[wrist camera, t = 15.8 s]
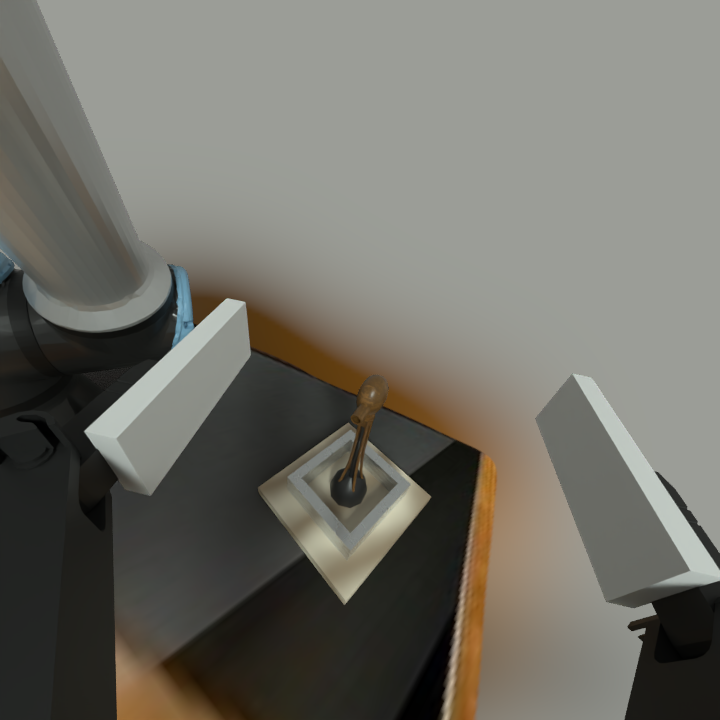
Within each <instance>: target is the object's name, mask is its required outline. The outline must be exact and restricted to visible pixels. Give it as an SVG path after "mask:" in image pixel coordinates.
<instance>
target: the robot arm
mask: <svg viewBox="0 0 720 720" xmlns="http://www.w3.org/2000/svg"><path fill="white" fill-rule="evenodd" d="M0 249H2V251H3V252H4V253H6V254H7V255H8V256H9V258H11V259H12V260H13V261H14V262H15V263H16V264H17V265H18V266H19V267H20V268H21V269H22V270H18V269H14V263H13V262H12V260H10V259H8V258H7V257H6V256H5V255H4V254H3V253H1V252H0V720H117V708H116V664H115V621H114V577H113V533H112V496H111V493H110V488H111V487H112V486H113V485H114V484H115V482H116V481H117V480H118V481H119V482H120V483H121V485H122V486H123V488H124V489H125V490H128V491H132V492H137V493H141V494H145V495H150V496H151V495H152V493H153V492H154V490H155V489H156V488H157V486H158V485H159V483H160V482H161V481H162V479H163V478H164V476H165V475H166V474H167V472H168V471H169V469H170V468H171V467H172V465H173V464H174V462H175V461H176V460H177V458H178V457H179V455H180V454H181V453H182V451H183V450H184V448H185V447H186V446H187V444H188V443H189V441H190V440H191V439H192V437H193V436H194V434H195V433H196V432H197V430H198V429H199V427H200V426H201V425H202V423H203V422H204V420H205V419H206V418H207V416H208V415H209V413H210V412H211V410H212V409H213V408H214V406H215V405H216V403H217V402H218V401H219V399H220V398H221V396H222V395H223V394H224V392H225V391H226V389H227V388H228V387H229V385H230V384H231V382H232V381H233V380H234V378H235V377H236V375H237V374H238V373H239V371H240V370H241V368H242V367H243V366H244V364H245V363H246V361H247V360H248V359H249V357H250V356H251V352H250V342H249V332H248V322H247V312H246V303H245V302H242V301H237V300H233V299H229V298H227V299H225V300H224V301H223V302H222V303H221V304H220V305H219V306H218V307H217V308H216V309H215V310H214V311H213V312H212V313H210V314H209V315H208V316H207V317H206V318H205V319H204V320H203V321H202V322H201V323H200V324H199V325H198V326H196V327H195V328H194V324H193V310H192V301H191V293H190V286H189V279H188V274H187V272H186V270H185V269H184V268H183V267H180V266H174V265H168V264H167V263H166V261H165V260H164V259H163V257H162V256H161V255H160V254H159V253H158V252H157V251H156V250H155V249H153V248H152V247H151V246H149V245H148V244H146V243H144V242H142V241H140V240H139V238H138V236H137V233H136V231H135V229H134V226H133V225H132V222H131V220H130V217H129V215H128V213H127V210H126V208H125V206H124V204H123V201H122V199H121V196H120V194H119V192H118V189H117V187H116V185H115V182H114V180H113V178H112V175H111V173H110V171H109V168H108V166H107V164H106V161H105V159H104V157H103V154H102V152H101V150H100V147H99V145H98V143H97V140H96V138H95V136H94V134H93V131H92V129H91V127H90V124H89V122H88V119H87V117H86V115H85V113H84V110H83V108H82V106H81V103H80V101H79V99H78V96H77V94H76V92H75V89H74V87H73V85H72V82H71V80H70V78H69V75H68V73H67V71H66V68H65V66H64V64H63V61H62V59H61V57H60V54H59V52H58V50H57V47H56V45H55V43H54V40H53V38H52V36H51V34H50V31H49V29H48V26H47V24H46V22H45V19H44V17H43V15H42V13H41V10H40V8H39V6H38V3H37V1H36V0H0ZM126 367H131V368H130V369H129V370H127V371H126V372H125V373H124V374H123V375H122V376H120V377H119V378H118V379H117V382H114V383H112V384H111V385H110V386H109V387H108V388H107V389H106V391H104V390H103V389H102V388H101V387H100V386H98V385H97V384H96V383H94V382H93V381H91V380H90V379H88V378H87V377H86V376H84V375H83V374H81V373H88V372H95V371H103V370H111V369H119V368H126ZM535 419H536V422H537V424H538V427H539V430H540V432H541V435H542V437H543V440H544V442H545V445H546V447H547V450H548V453H549V455H550V458H551V461H552V463H553V466H554V468H555V471H556V474H557V476H558V479H559V481H560V484H561V486H562V489H563V492H564V494H565V497H566V499H567V502H568V505H569V507H570V509H571V512H572V515H573V517H574V520H575V522H576V525H577V528H578V530H579V533H580V536H581V538H582V541H583V543H584V546H585V548H586V551H587V553H588V556H589V559H590V561H591V564H592V567H593V569H594V572H595V574H596V577H597V579H598V582H599V584H600V587H601V590H602V592H603V595H604V598H605V600H606V602H609V603H613V604H617V605H622V606H626V607H630V608H636V607H639V606H642V605H645V604H648V603H652V605H653V607H654V609H655V611H656V613H657V615H653V616H650V617H646V618H643V619H640V620H636V621H632V622H630V624H629V625H628V628H629V629H630V630H631V631H634V630H638V629H642V628H646V631H645V634H643V635H640V636H638V638H639V639H641V640H642V641H643V644H642V648H641V653H640V657H639V661H638V665H637V669H636V673H635V678H634V682H633V686H632V690H631V695H630V699H629V703H628V707H627V711H626V715H625V720H720V553H719V552H718V550H717V549H716V547H715V546H714V545H713V543H712V542H711V540H710V539H709V537H708V536H707V534H706V533H705V532H704V530H703V529H702V527H701V526H699V525H698V524H697V520H696V519H695V517H694V516H693V514H692V513H691V511H689V510H687V506H686V504H685V503H684V501H683V500H682V498H681V497H680V495H679V494H678V493H677V491H676V490H675V489H674V488H673V487H672V486H671V485H670V484H669V483H668V482H667V481H666V480H665V479H664V478H663V477H662V476H661V475H660V474H659V473H658V472H655V471H653V469H652V468H651V466H650V465H649V463H648V462H647V460H646V459H645V457H644V456H643V454H642V453H641V451H640V450H639V448H638V447H637V445H636V444H635V442H634V441H633V439H632V438H631V436H630V435H629V433H628V432H627V430H626V429H625V427H624V426H623V424H622V423H621V421H620V420H619V418H618V417H617V415H616V414H615V412H614V411H613V409H612V408H611V406H610V405H609V403H608V402H607V400H606V399H605V397H604V396H603V394H602V393H601V391H600V390H599V388H598V387H597V385H596V384H595V382H594V381H593V379H592V378H590V377H585V376H581V375H576V374H572V375H571V376H570V377H569V378H568V379H567V381H566V382H565V383H564V384H563V386H562V387H561V388H560V389H559V390H558V392H557V393H556V394H555V395H554V396H553V398H552V399H551V400H550V401H549V403H548V404H547V405H546V406H545V407H544V408H543V410H542V411H541V412H540V413H539V415H538V416H537V417H536V418H535Z"/></svg>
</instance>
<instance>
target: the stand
mask: <svg viewBox="0 0 720 720" xmlns="http://www.w3.org/2000/svg"><path fill="white" fill-rule="evenodd" d="M349 430H352V431H353V432H354V433H355V434H356V431H357V430H356V429H355V428H354V427H353V426H352V425H350V424H349V423H347V424H346V425H344V426H343V427H341V428H340V429H339V430H337V431H336V432H335V433H333V434H332V435H330V436H329V437H328V438H326V439H325V440H323V441H322V442H321V443H319V444H318V445H316V446H315V447H314V448H312V449H311V450H309V451H308V452H307V453H305V454H304V455H303V456H301V457H300V458H298V459H297V460H296V461H294V462H293V463H291V464H290V465H289V466H287V467H286V468H284V469H283V470H282V471H280V472H279V473H277V474H276V475H275V476H273V477H272V478H271V479H269V480H268V481H266V482H265V483H264V484H262V485H261V486H259V487H258V491H259V494H260V495H261V497H262V498H263V499H264V501H265V502H266V503H267V505H268V506H269V507H270V508H271V510H272V511H273V512H274V514H275V515H276V516H277V518H278V519H279V520H280V522H281V523H282V524H283V525H284V527H285V528H286V529H287V531H288V532H289V533H290V535H291V536H292V537H293V539H294V540H295V541H296V542H297V544H298V545H299V546H300V548H301V549H302V550H303V552H304V553H305V554H306V556H307V557H308V558H309V559H310V561H311V562H312V563H313V565H314V566H315V567H316V569H317V570H318V571H319V573H320V574H321V575H322V577H323V578H324V579H325V580H326V582H327V583H328V584H329V586H330V587H331V588H332V590H333V591H334V592H335V594H336V595H337V596H338V597H339V599H340V600H341V601H342V603H343V604H344V605H345V604H346V603H347V602H348V600H349V599H350V598H351V597H352V595H353V594H354V593H355V592H356V590H357V589H358V588H359V587H360V585H361V584H362V583H363V582H364V581H365V579H366V578H367V577H368V576H369V574H370V573H371V572H372V571H373V569H374V568H375V567H376V566H377V564H378V563H379V562H380V561H381V559H382V558H383V557H384V556H385V555H386V553H387V552H388V551H389V550H390V548H391V547H392V546H393V545H394V543H395V542H396V541H397V540H398V538H399V537H400V536H401V535H402V533H403V532H404V531H405V530H406V529H407V527H408V526H409V525H410V524H411V522H412V521H413V520H414V519H415V517H416V516H417V515H418V514H419V512H420V511H421V510H422V509H423V507H424V506H425V505H426V504H427V503H428V501H429V500H430V498H431V496H430V495H429V494H427V493H426V492H425V491H424V490H423V489H422V488H421V487H420V486H419V485H417V484H416V483H415V482H414V481H413V480H412V479H411V478H410V477H408V476H407V475H406V474H405V473H404V472H403V471H402V470H401V469H400V468H398V467H397V466H396V465H395V464H394V463H393V462H392V461H391V460H389V459H388V458H387V457H386V456H385V455H384V454H383V453H382V452H381V451H379V450H378V449H377V448H376V447H375V446H374V445H373V444H372V443H370V442H369V441H367V445H368V446H369V447H371V448H372V449H373V450H374V451H375V452H376V453H377V454H378V455H379V456H380V457H382V458H383V459H384V460H385V461H386V462H387V463H388V464H389V465H390V466H391V467H393V468H394V469H395V470H396V471H397V472H398V473H399V474H400V475H401V476H403V477H404V478H405V479H406V480H407V481H408V482H409V483H410V484H411V485H410V487H409V489H408V491H407V493H406V495H405V496H404V497H403V498H402V499H401V501H400V502H399V503H398V504H397V505H396V506H395V507H394V508H393V510H392V511H391V512H390V513H389V514H388V515H387V516H386V517H385V518H384V520H383V521H382V522H381V523H380V524H379V525H378V526H377V527H376V528H375V530H374V531H373V532H372V533H371V534H370V535H369V536H368V537H367V539H366V540H365V541H364V542H363V543H362V544H361V545H360V546H359V547H358V549H357V550H356V551H355V552H354V553H353V554H352V555H351V556H350V557H349V559H348V560H346V559H345V558H344V557H343V555H342V554H341V553H340V552H339V551H338V549H337V548H336V547H335V546H334V545H333V543H332V542H331V541H330V540H329V539H328V537H327V536H326V535H325V534H324V533H323V531H322V530H321V529H320V528H319V527H318V525H317V524H316V523H315V522H314V521H313V519H312V518H311V517H310V516H309V515H308V513H307V512H306V511H305V510H304V509H303V507H302V506H301V505H300V504H299V503H298V501H297V500H296V499H295V498H294V497H293V495H292V494H291V493H290V492H289V491H288V489H287V477H288V476H289V475H290V474H292V473H293V472H294V471H296V470H297V469H298V468H300V467H301V466H302V465H304V464H305V463H307V462H308V461H309V460H311V459H312V458H313V457H315V456H316V455H317V454H319V453H320V452H321V451H323V450H324V449H325V448H327V447H328V446H329V445H331V444H332V443H333V442H335V441H336V440H337V439H339V438H340V437H341V436H343V435H344V434H345V433H347V432H348V431H349ZM349 457H350V453H349V452H347V453H346V454H345V455H343V456H342V457H341V458H340V459H338V460H337V461H336V462H335V463H333V464H332V465H331V466H330V467H328V468H327V469H326V470H325V471H323V472H322V473H321V474H320V475H318V476H317V477H316V478H315V479H314V480H312V481H311V482H310V483H309V484H307V485H308V486H309V487H310V488H311V489H312V490H313V491H314V492H315V494H316V495H317V496H318V497H319V498H320V499H321V500H322V502H323V503H324V504H325V505H326V506H327V507H328V508H329V509H330V511H331V512H332V513H333V514H334V515H335V516H336V517H337V519H338V520H339V521H340V522H341V523H342V524H343V525H344V526H345V528H346V529H347V530H348V531H349V532H350V533H351V532H352V531H353V530H354V529H355V528H356V527H357V526H358V525H359V524H360V523H361V521H362V520H363V519H364V518H365V517H366V516H367V515H368V514H369V513H370V512H371V511H372V510H373V509H374V508H375V507H376V506H377V505H378V504H379V503H380V502H381V501H382V499H383V498H384V497H385V496H386V495H387V494H388V493H389V491H388V490H387V489H386V488H385V487H384V486H383V485H382V484H381V483H380V482H379V481H378V480H377V479H376V478H375V477H374V476H373V475H372V474H371V473H369V472H368V471H367V470H366V469H365V468H364V467H363V475H364V476H365V479H366V485H367V492H366V495H365V497H364V498H363V500H362V502H361V504H359V505H356V506H354V507H352V508H348V507H343V506H339V505H338V504H337V503H336V502H335V501H334V500H333V498H332V497H331V493H330V482H331V480H332V479H333V477H334V475H335V474H336V472H337V471H338V470H340V469H343V468H345V467H346V465H347V462H348V460H349ZM358 470H359V471H360V463H359V467H358Z"/></svg>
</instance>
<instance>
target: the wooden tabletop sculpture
mask: <svg viewBox="0 0 720 720" xmlns="http://www.w3.org/2000/svg"><path fill="white" fill-rule="evenodd" d="M388 389H389V387H388V383H387V380H386V379H385V378H384V377H383V376H380V375H372V376H370V377H368V378H367V379H366V380H365V381H364V383H363V384H362V386H361V387H360V389H359V392H358V395H357V407H358V408H357V409H356V410H355V412H354V413H353V414H352V416H351V421H352V422H353V423H354V424H357V425H358V427H357V431H356V436H355V440H354V443H353V447H352V451H351V454H350V457H349V460H348V462H347V465H346V467H345V468H343V469H340V470H338V471H337V472H336V474H335V475H334V477H333V479H332V480H331V482H330V493H331V497H332V498H333V500H334V501H335V502H336V503H337V504H338V505H339V506H343V507H348V508H352V507H354V506H356V505H359V504H361V502H362V500H363V498H364V497H365V495H366V492H367V485H366V479H365V476H364V475H363V460H364V454H365V449H366V445H367V441H368V438H369V434H370V430H371V427H372V423H373V420H374V418H375V413H376V412H378V411H379V410H380V409H381V407H382V406H383V403H384V402H385V400H386V398H387V394H388ZM360 458H361V460H360ZM359 463H360V471H359V470H358V467H359Z"/></svg>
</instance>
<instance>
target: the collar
mask: <svg viewBox="0 0 720 720" xmlns="http://www.w3.org/2000/svg"><path fill="white" fill-rule="evenodd" d="M355 436H356V434H355V433H354V432H353V431H352V430H349V431H348V432H347V433H345V434H344V435H343V436H341V437H340V438H339V439H337V440H336V441H335V442H333V443H332V444H331V445H329V446H328V447H327V448H325V449H324V450H323V451H321V452H320V453H319V454H317V455H316V456H315V457H313V458H312V459H311V460H309V461H308V462H307V463H305V464H304V465H302V466H301V467H300V468H298V469H297V470H296V471H294V472H293V473H292V474H290V475H289V476H288V477H287V489H288V491H289V492H290V493H291V494H292V495H293V497H294V498H295V499H296V500H297V501H298V503H299V504H300V505H301V506H302V507H303V509H304V510H305V511H306V512H307V513H308V515H309V516H310V517H311V518H312V519H313V521H314V522H315V523H316V524H317V525H318V527H319V528H320V529H321V530H322V531H323V533H324V534H325V535H326V536H327V537H328V539H329V540H330V541H331V542H332V543H333V545H334V546H335V547H336V548H337V549H338V551H339V552H340V553H341V554H342V555H343V557H344V558H345V559H346V560H348V559H349V557H350V556H351V555H352V554H353V553H354V552H355V551H356V550H357V549H358V547H359V546H360V545H361V544H362V543H363V542H364V541H365V540H366V539H367V537H368V536H369V535H370V534H371V533H372V532H373V531H374V530H375V528H376V527H377V526H378V525H379V524H380V523H381V522H382V521H383V520H384V518H385V517H386V516H387V515H388V514H389V513H390V512H391V511H392V510H393V508H394V507H395V506H396V505H397V504H398V503H399V502H400V501H401V499H402V498H403V497H404V496H405V495H406V493H407V491H408V489H409V487H410V485H411V484H410V483H409V482H408V481H407V480H406V479H405V478H404V477H403V476H401V475H400V474H399V473H398V472H397V471H396V470H395V469H394V468H393V467H391V466H390V465H389V464H388V463H387V462H386V461H385V460H384V459H383V458H382V457H380V456H379V455H378V454H377V453H376V452H375V451H374V450H373V449H372V448H371V447H369V446H368V445H366V449H365V454H364V460H363V467H364V468H365V469H366V470H367V471H368V472H369V473H371V474H372V475H373V476H374V477H375V478H376V479H377V480H378V481H379V482H380V483H381V484H382V485H383V486H384V487H385V488H386V489H387V490H388V491H389V493H388V494H387V495H386V496H385V497H384V498H383V499H382V501H381V502H380V503H379V504H378V505H377V506H376V507H375V508H374V509H373V510H372V511H371V512H370V513H369V514H368V515H367V516H366V517H365V518H364V519H363V520H362V521H361V523H360V524H359V525H358V526H357V527H356V528H355V529H354V530H353V531H352V532H351V533H350V532H349V531H348V530H347V529H346V528H345V526H344V525H343V524H342V523H341V522H340V521H339V520H338V519H337V517H336V516H335V515H334V514H333V513H332V512H331V511H330V509H329V508H328V507H327V506H326V505H325V504H324V503H323V502H322V500H321V499H320V498H319V497H318V496H317V495H316V494H315V492H314V491H313V490H312V489H311V488H310V487H309V486H308V485H307V484H309V483H310V482H311V481H312V480H314V479H315V478H316V477H317V476H318V475H320V474H321V473H322V472H323V471H325V470H326V469H327V468H328V467H330V466H331V465H332V464H333V463H335V462H336V461H337V460H338V459H340V458H341V457H342V456H343V455H345V454H346V453H347V452H349V453H350V454H351V451H352V447H353V443H354V440H355ZM360 460H361V458H360Z"/></svg>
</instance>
